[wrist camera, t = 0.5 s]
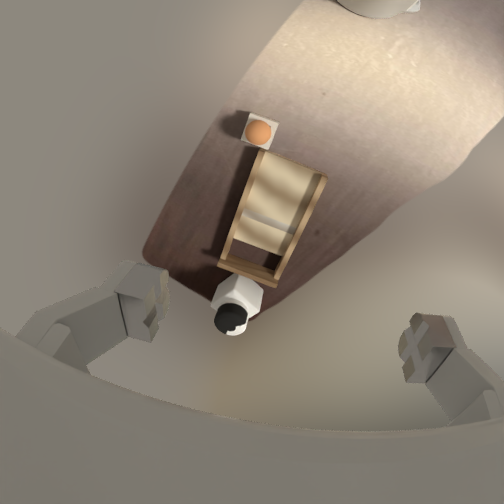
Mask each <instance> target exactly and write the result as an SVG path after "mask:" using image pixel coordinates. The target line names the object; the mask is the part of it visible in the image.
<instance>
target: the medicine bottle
mask: <svg viewBox="0 0 504 504" xmlns="http://www.w3.org/2000/svg"><path fill="white" fill-rule="evenodd" d="M262 295H263V289H262V288H261V287H260V286H259V285H258V284H257V283H255V282H254V281H253V280H252V279H249V278H247V277H244V276H241V275H239V274H236V273H234V274H232V275H231V276H230V277H228V278H227V279H226V280H224V281H223V282H222V283H220V284H219V285H218V287H217V289H216V292H215V294H214V297H213V300H212V302H211V307H212V308H213V309H215V310H216V311H217V313H216V316H215V319H214V323H215V326H216V327H217V329H218V330H219V331H221V332H222V333H224V334H227V335H238V334H241V333H242V332H244V331H245V329H246V326H247V321H248V318H250V317H252V316H253V315H255V314H256V313H258V312H259V311H260V306H261V300H262Z"/></svg>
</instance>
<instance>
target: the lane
mask: <svg viewBox="0 0 504 504" xmlns="http://www.w3.org/2000/svg"><path fill="white" fill-rule="evenodd" d="M327 180H328V177H327V174H324V173H322V172H320V171H317V170H315V169H313V168H310V167H308V166H306V165H303V164H301V163H298V162H296V161H293V160H291V159H288V158H286V157H283V156H281V155H278V154H276V153H273V152H270V151H268V150H265V149H263V148H260V150H259V152H258V154H257V157H256V160H255V162H254V165H253V168H252V170H251V173H250V176H249V178H248V181H247V184H246V187H245V189H244V192H243V195H242V198H241V200H240V203H239V206H238V209H237V212H236V214H235V217H234V220H233V223H232V226H231V229H230V231H229V234H228V237H227V240H226V243H225V246H224V249H223V251H222V254H221V257H220V260H219V262H218V265H217V267H220V268H223V269H225V270H228V271H231V272H233V273H236V274H239V275H241V276H244V277H247V278H249V279H252V280H255V281H257V282H260V283H263V284H266V285H268V286H271V287H274V288H276V287H277V285H278V280H279V278H280V276H281V274H282V272H283V270H284V268H285V266H286V264H287V262H288V260H289V258H290V256H291V254H292V252H293V250H294V248H295V246H296V244H297V242H298V240H299V238H300V236H301V234H302V232H303V230H304V228H305V226H306V224H307V221H308V219H309V217H310V215H311V213H312V211H313V209H314V207H315V205H316V203H317V201H318V199H319V197H320V194H321V192H322V190H323V188H324V186H325V184H326V182H327ZM233 238H235V239H238V240H241V241H243V242H246V243H249V244H251V245H254V246H256V247H259V248H262V249H264V250H267V251H270V252H272V253H275V254H277V255H280V256H282V257H281V259H280V261H279V263H278V265H277V267H276V269H275V271H274V270H271V269H268V268H266V267H263V266H260V265H258V264H255V263H252V262H250V261H247V260H244V259H242V258H239V257H236V256H234V255H231V254H228V251H229V249H230V246H231V243H232V240H233Z"/></svg>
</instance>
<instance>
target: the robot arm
mask: <svg viewBox="0 0 504 504" xmlns="http://www.w3.org/2000/svg"><path fill="white" fill-rule="evenodd" d="M337 1H338V2H339V3H340V4H341V5H343V6H344V7H345V8H347V9H349V10H350V11H352V12H354V13H356V14H359V15H361V16H365V17H369V18H375V19H385V18H390V17H393V16H396V15H398V14H401V13H417V12H418V11H419V9H420V0H337ZM168 281H169V276H168V271H167V270H166V269H162V268H158V267H154V266H150V265H145V264H142V263H137V262H133V261H128V260H124V261H122V262H121V263H120V264H119V265H118V267H117V268H116V269H115V270H114V271H113V272H112V274H110V276H109V277H108V278H107V279H106V280H105V281H104V283H103V284H102V285H101V286H100V287H99V288H97V287H94V288H92V289H89V290H87V291H84V292H82V293H79V294H77V295H74V296H72V297H70V298H67V299H65V300H62V301H60V302H58V303H55V304H53V305H51V306H48V307H46V308H44V309H41V310H39V311H36V312H35V314H34V315H33V316H32V317H31V318H30V319H29V320H28V322H27V323H26V324H25V325H24V326H23V328H22V329H21V330H20V332H19V333H18V334H17V335H16V336H13V335H11V334H10V333H7V332H6V331H5V330H3V329H1V328H0V504H504V381H503V380H502V379H501V378H500V377H499V376H498V375H497V374H496V373H495V372H494V371H493V370H492V369H491V368H490V367H489V366H488V365H487V364H486V363H485V362H484V361H483V360H482V359H481V358H480V357H479V356H477V355H476V354H475V353H474V352H473V351H472V350H471V349H467V346H466V344H465V342H464V339H463V337H462V335H461V333H460V331H459V328H458V326H457V324H456V322H455V320H454V318H452V317H451V316H444V315H432V314H423V313H415V314H414V315H413V316H412V318H411V320H410V327H409V328H408V329H406V330H404V332H403V333H402V335H401V337H400V340H399V345H398V351H399V356H400V358H401V359H402V360H403V361H404V362H405V363H404V365H403V367H402V368H403V373H404V377H405V381H406V382H407V383H426V386H427V388H428V389H429V390H430V392H431V393H432V395H433V396H434V397H435V399H436V400H437V402H438V403H439V405H440V406H441V407H442V409H443V410H444V412H445V413H446V414H447V416H448V417H449V419H450V420H451V422H450V423H449V424H448V425H447V426H446V427H440V428H431V429H420V430H405V431H372V432H371V431H366V432H365V431H333V430H317V429H305V428H296V427H287V426H279V425H271V424H265V423H258V422H252V421H246V420H241V419H235V418H230V417H225V416H221V415H216V414H211V413H207V412H203V411H199V410H195V409H191V408H187V407H183V406H180V405H176V404H172V403H169V402H166V401H162V400H159V399H156V398H152V397H149V396H146V395H143V394H140V393H137V392H134V391H131V390H129V389H126V388H123V387H120V386H118V385H115V384H112V383H110V382H107V381H105V380H102V379H100V378H97V377H95V376H92V375H91V374H90V372H89V370H88V368H87V366H86V365H87V364H88V363H90V362H92V361H93V360H95V359H96V358H98V357H99V356H101V355H102V354H104V353H105V352H107V351H108V350H110V349H111V348H113V347H114V346H116V345H117V344H119V343H120V342H122V341H123V340H125V339H126V338H127V336H128V337H131V338H135V339H139V340H142V341H146V342H150V343H151V342H152V340H153V338H154V336H155V334H156V333H157V331H158V329H159V325H158V321H160V320H162V319H164V317H165V315H166V313H167V311H168V307H169V302H170V292H169V290H168V289H167V287H166V284H167V283H168Z"/></svg>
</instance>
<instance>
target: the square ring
mask: <svg viewBox="0 0 504 504" xmlns="http://www.w3.org/2000/svg"><path fill="white" fill-rule="evenodd" d="M254 120H262V121H264V122H266V123H267V124H268V125H269V126H271V137H270V139H269V140H268V142H266V143H265V144H263V145H256V146H259V147H262V148H264V149H267V150H268V149H269V147H270V145H271V142H272V140H273V137H274V135H275V132H276V129H277V127H278V124H279V122H278V121H276V120H273V119H270V118H268V117H265V116H262V115H259V114H256V113H253V112H252V113H250V115H249V118H248V120H247V123H246V126H245V129H246V127H247V125H248V124H249V123H250V122H252V121H254ZM245 129H244V131H243V134H242V137H241V140H242V141H245V142H248V143H250V142H249V141H248V140H247V138H246V136H245ZM251 144H252V143H251Z"/></svg>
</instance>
